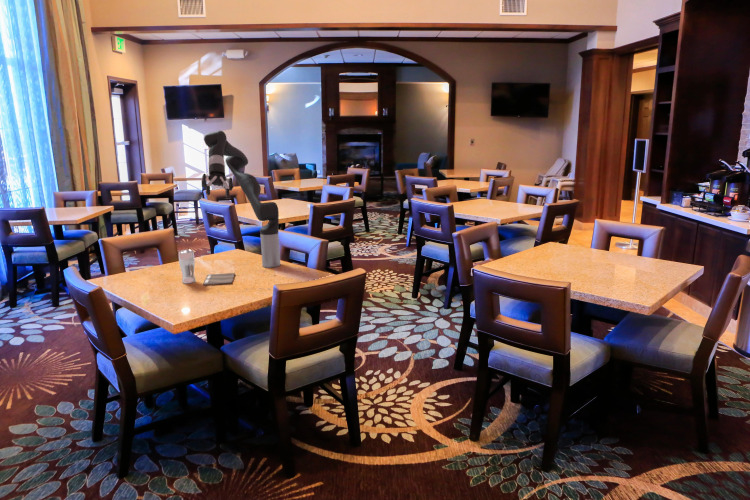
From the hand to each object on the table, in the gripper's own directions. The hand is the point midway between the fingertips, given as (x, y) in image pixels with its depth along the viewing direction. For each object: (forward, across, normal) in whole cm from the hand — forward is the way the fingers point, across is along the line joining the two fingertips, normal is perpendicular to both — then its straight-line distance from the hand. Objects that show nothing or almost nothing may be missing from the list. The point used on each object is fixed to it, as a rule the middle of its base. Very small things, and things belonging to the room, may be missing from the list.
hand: (218, 195), depth 255 cm
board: (+34, -5, -21) cm, 40 cm away
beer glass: (+34, +8, -26) cm, 43 cm away
